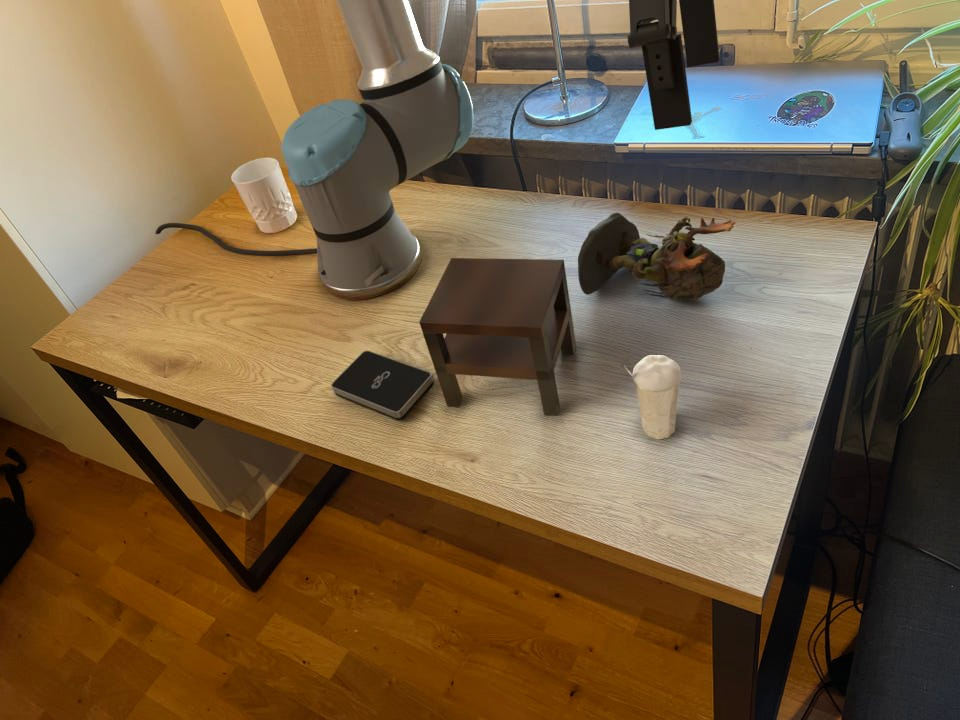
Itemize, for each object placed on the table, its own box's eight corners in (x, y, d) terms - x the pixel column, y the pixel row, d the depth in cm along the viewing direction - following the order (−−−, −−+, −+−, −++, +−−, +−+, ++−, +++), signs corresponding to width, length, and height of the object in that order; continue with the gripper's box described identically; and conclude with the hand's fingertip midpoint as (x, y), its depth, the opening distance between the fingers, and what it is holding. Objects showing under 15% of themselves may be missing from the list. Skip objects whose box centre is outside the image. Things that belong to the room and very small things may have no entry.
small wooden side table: (447, 406, 82) (418, 322, 73) (474, 341, 89) (451, 257, 81) (557, 416, 78) (541, 327, 69) (576, 347, 85) (563, 258, 76)
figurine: (611, 198, 95) (743, 202, 83) (624, 260, 100) (750, 273, 88) (551, 250, 87) (686, 263, 75) (568, 314, 92) (698, 336, 80)
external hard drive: (370, 360, 91) (365, 349, 89) (438, 385, 85) (434, 373, 84) (334, 397, 87) (328, 386, 86) (403, 425, 81) (398, 414, 80)
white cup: (295, 231, 118) (272, 178, 111) (251, 239, 119) (225, 186, 112) (304, 206, 124) (282, 154, 117) (262, 213, 125) (238, 162, 118)
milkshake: (624, 417, 76) (618, 349, 69) (674, 407, 75) (673, 338, 69) (634, 450, 72) (629, 382, 66) (687, 439, 72) (687, 370, 65)
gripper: (668, -227, 37) (711, 152, 49) (735, -254, 54) (755, 34, 66) (537, -178, 41) (607, 164, 53) (638, -217, 58) (673, 49, 70)
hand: (689, 92), depth 60 cm, fingers open, 13 cm apart
